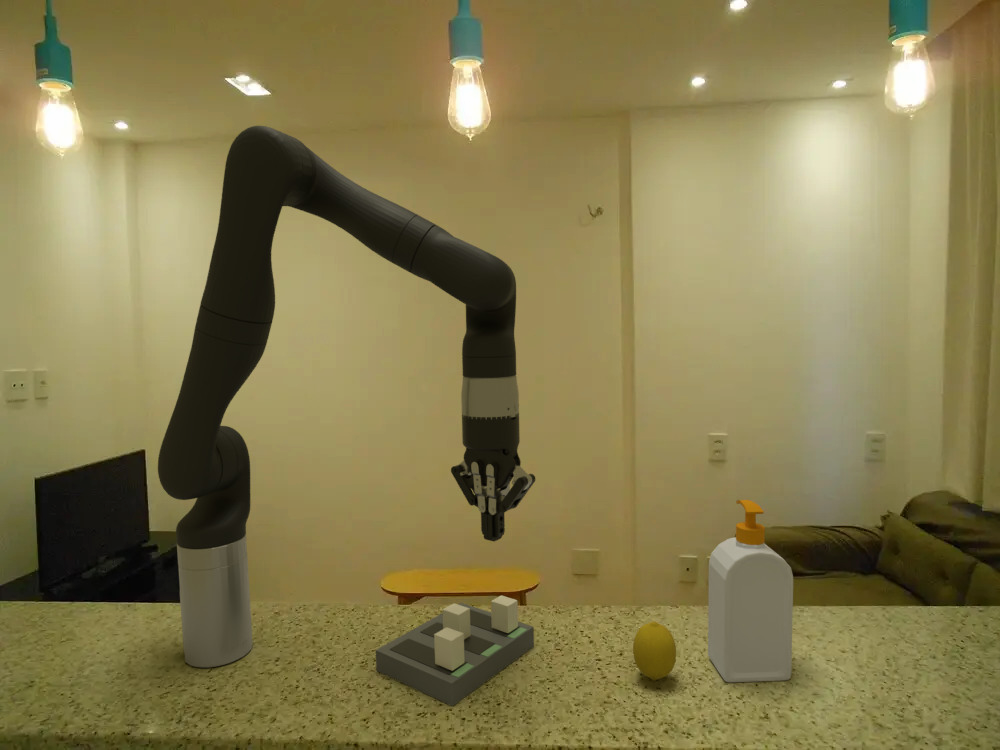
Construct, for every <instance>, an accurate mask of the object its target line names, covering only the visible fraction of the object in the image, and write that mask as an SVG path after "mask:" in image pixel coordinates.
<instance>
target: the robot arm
mask: <svg viewBox="0 0 1000 750" xmlns="http://www.w3.org/2000/svg"><path fill="white" fill-rule="evenodd" d="M224 165H225V166H224V171H223V172H224V174H223V183H222V190H221V199H220V200H221V201H220V210H219V218H218V225H217V231H216V235H215V240H214V245H213V248H212V254H211V259H210V263H209V268H208V272H207V275H206V276H207V278H206V282H205V287H204V290H203V293H202V296H201V300H200V304H199V310H198V314H197V318H196V320H195V321H196V323H195V326H194V331H193V336H192V343H191V346H190V347H191V348H190V350H189V351H190V352H189V354H188V359H187V362H186V363H187V364H186V366H185V371H184V374H183V378H182V381H181V382H182V383H181V386H180V389H179V393H178V396H177V400H176V401H175V402H176V403H175V406H174V409H173V410H172V411H173V412H172V413H171V416H170V419H169V422H168V425H167V428H166V431H165V433H164V436H163V439H162V442H161V445H160V449H159V452H158V458H157V475H158V479H159V482H160V483H159V484H160V485H161V486H162V488H163V491H165V492H166V494H167V495H168V496H170V497H171V498H173V499H175V500H179V501H180V500H181V501H187V500H188V501H189V500H194V499H196V500H195V502H194V504H193V506H192V507H191V509H190V510H189V511H188V512H187V513H186V514H185V515H184V516H183V517H182V518H181V519H180V520H179V521H178V523H177V525H176V527H175V528H176V529H175V539H176V552H177V565H178V581H179V601H180V617H181V619H180V620H181V632H182V644H183V652H184V653H183V654H184V661H185V663H186V664H188V665H189V666H192V667H194V668H195V667H196V668H213V667H220V666H224V665H228V664H231V663H233V662H235V661H237V660H239V659H241V658H243V657H244V656H247V654H248V653H249V652H250V651H251V650H252V648H253V629H252V628H253V627H252V611H251V593H250V579H249V578H250V577H249V563H248V562H249V561H248V546H247V545H248V544H247V527H246V526H247V521H248V518H249V516H250V511H251V461H250V460H251V459H250V454H249V449H248V446H247V443H246V441H245V439H244V437H243V436H242V434H240V432H238V431H237V430H236V429H234V428H233V427H230V426H228V425H222V421H223V419H224V416H225V413H226V411H227V409H228V407H229V406H230V403H231V401H232V400H233V399H234V397H235V396H236V394H237V393H238V392H239V391H240V389H241V388H242V386H243V385H244V384H245V383H246V381H247V380H248V379H249V377H250V376H251V375H252V373H253V372H254V371H255V369H256V368H257V365H258V364H259V362H260V361H261V359H262V357H263V356H264V355H263V354H264V353H265V350H266V347H267V344H268V339H269V336H270V332H271V329H272V326H273V325H272V323H273V321H274V315H275V309H276V291H275V289H276V288H275V280H274V274H273V273H274V272H273V262H272V248H273V243H274V238H275V232H276V228H277V226H278V222H279V218H280V215H281V212H282V209H283V207H290V208H293V209H296V210H299V211H302V212H305V213H308V214H311V215H313V216H316V217H319V218H321V219H323V220H325V221H328V222H330V223H331V224H333V225H335V226H337V227H338V228H340V229H342V230H343V231H344V232H346V233H347V234H349V235H351V236H352V237H353V238H355V239H356V240H357V241H359V242H360V243H361V244H362V245H364V246H365V247H367V248H368V249H369V250H370V251H372V252H374V253H375V254H376V255H378V256H380V257H381V258H383V259H385V260H386V261H388V262H390V263H392V264H393V265H396V266H397V267H398V268H401V269H403V270H405V271H406V272H408V273H410V274H412V275H414V276H416V277H418V278H420V279H423V280H425V281H428V282H429V283H431V284H433V285H434V286H436V287H437V288H439V289H440V290H442V291H443V292H444V293H446V294H449V296H450V297H453V298H454V299H457V300H458V301H459V302H461V303H462V304H464V305H465V326H466V327H465V333H464V336H463V340H462V345H461V346H462V348H461V357H462V360H461V361H462V362H461V363H462V385H461V392H460V393H461V394H460V395H461V396H460V398H461V399H460V403H461V433H462V434H461V436H462V437H461V438H462V439H461V440H462V445H463V447H465V452H464V453H463V460H462V461H461V462H460V463H459V464H457V465H454V466H451V469H450V472H451V474H452V477H453V478H454V480H455V481H456V483H457V486H458V487H459V489H460V490H461V492H462V493H463V496H464V497H465V499H466V501H467V503H468V504H469V505H470V506H475V507H476V508H478V511H479V512H480V523H481V524H480V525H481V526H480V529H481V530H480V531H481V533H482V535H483V539H484V540H487V541H491V542H496V541H498V540H500V539H502V537H503V536H504V535H505V532H506V528H505V525H506V524H505V513H506V512H508V511H510V510H512V509H516V508H518V507H517V506H518V505H519V504H520V503H521V501H522V500H523V498H524V497H525V496H526V495H527V493H528V491H529V490H530V489H531V487H532V486H533V485H534V484H535V482H536V476H535V475H534V474H533V473H529V474H528V473H527V472H526V471H525V470H524V468H523V467H521V463H522V461H521V459H520V456H519V453H518V449H519V448H518V447H519V445H520V442H521V441H520V440H521V439H520V408H519V407H520V403H519V401H520V400H519V399H520V398H519V396H520V393H519V385H518V380H517V379H518V378H517V350H516V349H517V348H516V341H515V327H516V326H515V324H516V313H517V312H516V311H517V309H516V308H517V281H516V277H515V273H514V272H513V270H512V268H511V267H510V266H509V265H508V264H507V263H506V262H505V261H504V260H502V258H499V257H498V256H496V255H494V254H492V253H490V252H488V251H485V250H484V249H482V248H480V247H477V246H476V245H473V244H471V243H469V242H468V241H465V240H462V239H460V238H457V237H455V236H454V235H453V234H451V233H450V232H449V231H448V230H446V229H445V228H443V227H441V226H440V225H439V224H436V223H434V222H432V221H430V220H428V219H426V218H424V217H423V216H421V215H420V214H417V213H416V212H414V211H412V210H409V209H408V208H405V206H404V207H403V206H402V205H399V204H397V203H395V202H393V201H391V200H389V199H387V198H384V197H383V196H380V195H379V194H377V193H374V192H373V191H371V190H368V189H367V188H365V187H363V186H362V185H359V183H356V182H355V181H353V180H351V179H350V178H348V177H346V176H345V175H344V174H342V173H340V171H338V170H336V169H335V168H334V167H333V166H331V165H330V164H329V163H327V162H326V161H325V160H323V159H322V158H321V157H320V156H319V155H317V154H316V153H315V152H314V151H312V150H311V149H310V148H308V146H307V145H305V143H303V142H302V141H300V140H299V139H298V138H297V137H294V136H292V135H289V134H287V133H284V132H282V131H279V130H278V129H275V128H273V127H270V126H264V125H253V126H249V127H247V128H246V129H244V130H242V131H241V132H240V133H239V134H237V136H235V138H234V140H233V141H232V143H231V145H230V148H229V150H228V152H227V156H226V161H225V164H224ZM511 485H512V486H511ZM510 487H511V488H510Z"/></svg>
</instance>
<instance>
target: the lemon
mask: <svg viewBox="0 0 1000 750" xmlns="http://www.w3.org/2000/svg"><path fill="white" fill-rule="evenodd" d="M665 626H666V625H665ZM665 626H664V625H663V624H661V623H659V622H657V621H656V620H654V621H651V622H648V623H646V624H643V625H642V626H641V627H640V628H639V629H638V630H637V632H636V634H635V636H634V639H633V645H632V652H633V653H632V654H633V660H634V662H635V665H636V667H637V669H638V670H639V671H640V672H641V673H642V674H643V675H644V676H646V677H648V678H650V679H651V680H652V681H657V680H659V679H663V678H665V677H667V676H668V675H670V674H671V672H672V671H673V669H674V667H675V665H676V660H677V648H676V643H675V642H676V641H675V638H674V637H673V634H672V633H671V631H670V630H669V629H668V628H667V627H665Z"/></svg>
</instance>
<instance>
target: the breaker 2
mask: <svg viewBox="0 0 1000 750" xmlns="http://www.w3.org/2000/svg"><path fill="white" fill-rule="evenodd" d="M518 601H519V600H517V599H515V598H511V597H507V596H505V595H499V596H498V597H495V598H494V599H492V600H491V601H490V605H491V606H490V609H491V610H490V611H491V619H492V628H494V629H497V630H500V631H503V632H506V633H510V632H511V631H512V630H514V629H515V628H517V627H518V622H519V618H518V617H519V615H518V614H519V610H518V609H519V607H518V603H519V602H518Z"/></svg>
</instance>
